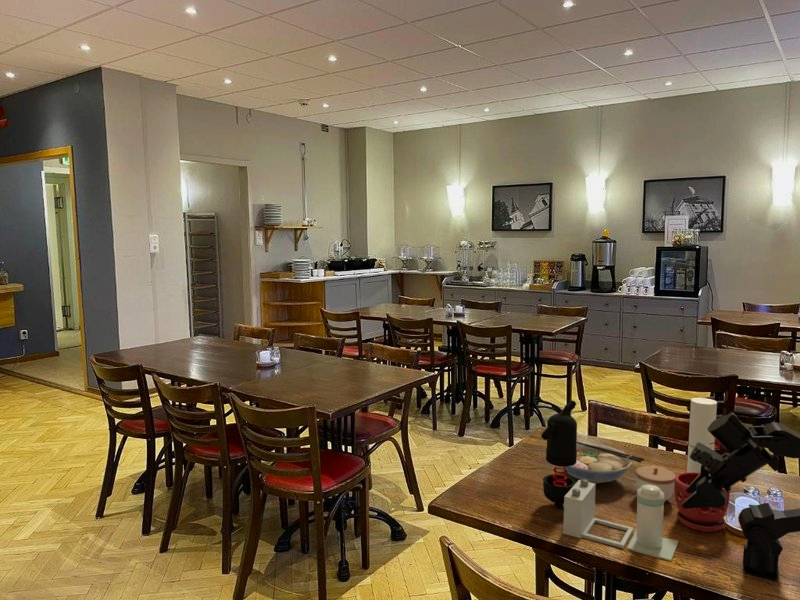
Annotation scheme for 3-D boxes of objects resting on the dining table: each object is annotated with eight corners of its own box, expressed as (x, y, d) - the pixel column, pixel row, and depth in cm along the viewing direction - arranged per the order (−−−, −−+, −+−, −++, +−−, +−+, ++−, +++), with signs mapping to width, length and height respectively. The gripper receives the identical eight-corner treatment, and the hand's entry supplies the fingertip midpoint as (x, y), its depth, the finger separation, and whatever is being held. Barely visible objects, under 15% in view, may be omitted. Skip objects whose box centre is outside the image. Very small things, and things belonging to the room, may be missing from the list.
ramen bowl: (537, 477, 191) (537, 452, 190) (577, 458, 206) (578, 435, 205) (610, 503, 172) (611, 476, 171) (648, 481, 188) (649, 455, 187)
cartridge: (664, 540, 151) (666, 486, 150) (660, 551, 146) (662, 495, 145) (638, 534, 155) (640, 481, 153) (633, 544, 149) (634, 490, 148)
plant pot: (738, 527, 159) (741, 483, 157) (707, 540, 152) (709, 495, 151) (692, 507, 170) (695, 466, 168) (661, 518, 163) (664, 476, 162)
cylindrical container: (717, 481, 187) (722, 402, 184) (700, 485, 184) (704, 405, 181) (698, 472, 193) (702, 396, 190) (681, 476, 191) (685, 399, 188)
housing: (634, 529, 158) (635, 488, 156) (622, 550, 148) (624, 506, 146) (577, 514, 166) (578, 475, 164) (563, 533, 156) (564, 491, 155)
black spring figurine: (558, 495, 178) (560, 396, 174) (584, 506, 171) (587, 403, 167) (527, 508, 170) (529, 404, 166) (553, 520, 163) (556, 412, 159)
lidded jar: (628, 498, 176) (629, 467, 174) (644, 487, 183) (645, 457, 182) (665, 510, 168) (667, 478, 167) (680, 498, 176) (682, 467, 174)
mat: (678, 542, 151) (678, 541, 151) (671, 561, 143) (671, 559, 143) (636, 531, 156) (636, 530, 156) (626, 549, 148) (626, 547, 148)
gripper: (716, 423, 148) (665, 458, 155) (711, 448, 132) (654, 485, 139) (751, 461, 145) (697, 494, 152) (750, 490, 129) (690, 526, 136)
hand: (685, 499), depth 145 cm, fingers open, 9 cm apart
